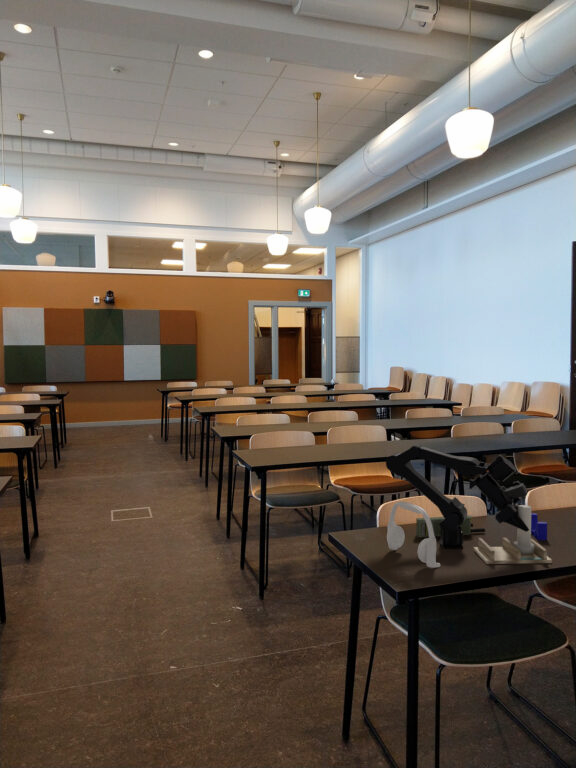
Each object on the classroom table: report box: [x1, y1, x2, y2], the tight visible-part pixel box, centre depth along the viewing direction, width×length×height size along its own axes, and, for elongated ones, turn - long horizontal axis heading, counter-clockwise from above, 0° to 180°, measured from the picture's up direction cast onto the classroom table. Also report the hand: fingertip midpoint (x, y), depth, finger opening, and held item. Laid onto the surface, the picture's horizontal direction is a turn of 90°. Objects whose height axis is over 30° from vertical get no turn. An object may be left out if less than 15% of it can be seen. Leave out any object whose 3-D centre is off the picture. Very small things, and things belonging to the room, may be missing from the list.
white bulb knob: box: [513, 504, 534, 554], centre depth 177 cm, size 6×6×14 cm
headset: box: [386, 501, 441, 569], centre depth 176 cm, size 20×7×18 cm, turn 28°
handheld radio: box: [415, 515, 486, 538], centre depth 199 cm, size 7×3×25 cm
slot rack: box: [473, 537, 553, 565], centre depth 178 cm, size 20×12×4 cm, turn 90°
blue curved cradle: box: [531, 512, 548, 541], centre depth 198 cm, size 12×4×6 cm, turn 173°
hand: (528, 528), depth 177 cm, fingers closed on white bulb knob, 4 cm apart
